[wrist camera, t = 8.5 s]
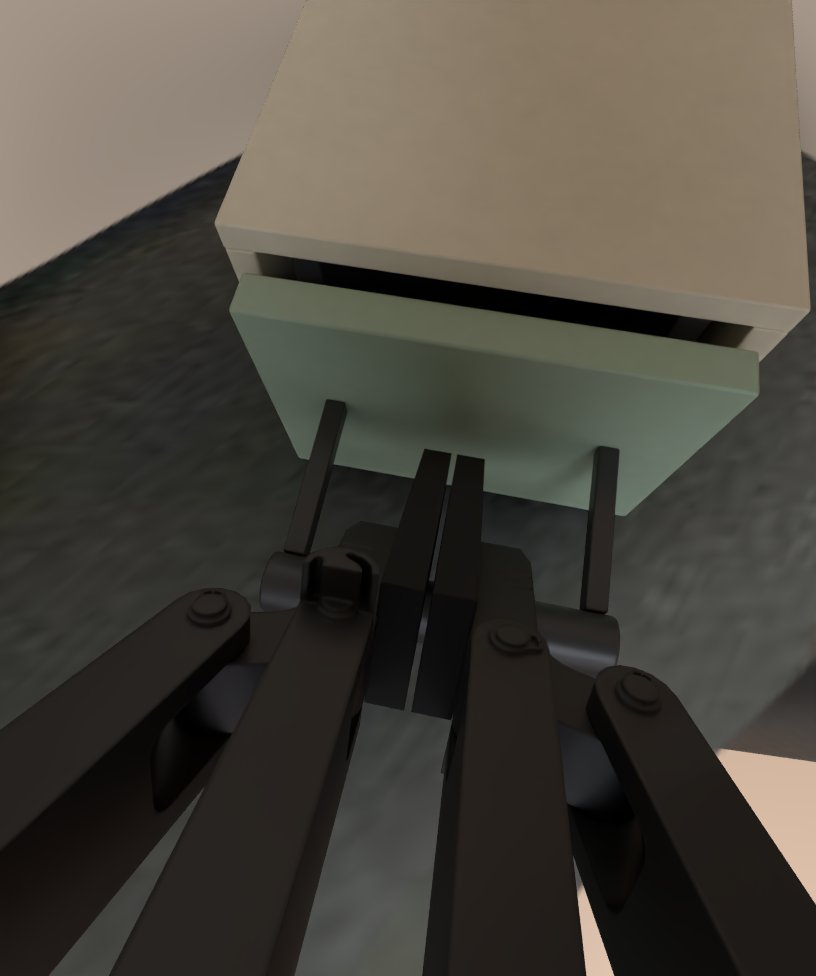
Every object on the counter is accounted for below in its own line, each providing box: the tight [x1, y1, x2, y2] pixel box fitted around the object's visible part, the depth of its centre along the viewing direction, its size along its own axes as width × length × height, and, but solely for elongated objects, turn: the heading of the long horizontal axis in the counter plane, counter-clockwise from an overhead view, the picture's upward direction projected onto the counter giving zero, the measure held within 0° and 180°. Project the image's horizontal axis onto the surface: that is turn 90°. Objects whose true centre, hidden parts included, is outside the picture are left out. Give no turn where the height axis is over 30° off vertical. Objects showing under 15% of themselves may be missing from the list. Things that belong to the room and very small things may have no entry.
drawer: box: [229, 257, 759, 678], centre depth 19 cm, size 21×12×9 cm, turn 169°
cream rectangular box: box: [215, 0, 810, 362], centre depth 21 cm, size 16×14×11 cm
